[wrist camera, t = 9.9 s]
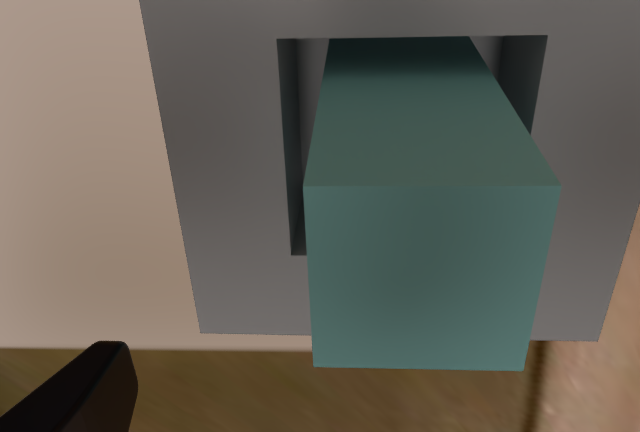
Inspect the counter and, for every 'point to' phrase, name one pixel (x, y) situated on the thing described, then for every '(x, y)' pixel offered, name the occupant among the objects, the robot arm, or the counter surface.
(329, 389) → the counter surface
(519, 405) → the counter surface
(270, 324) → the well block
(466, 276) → the teal block
